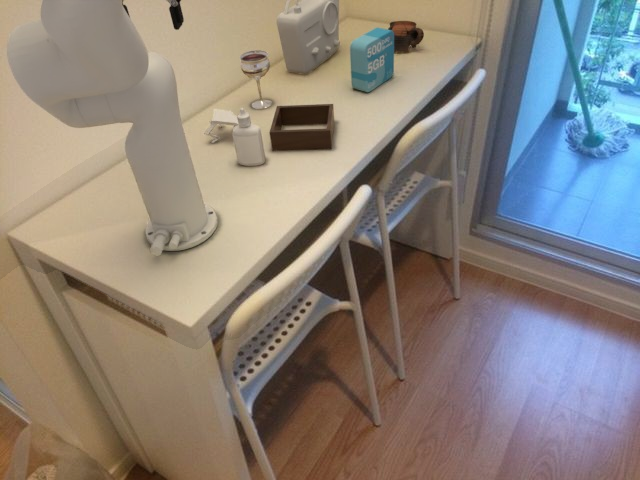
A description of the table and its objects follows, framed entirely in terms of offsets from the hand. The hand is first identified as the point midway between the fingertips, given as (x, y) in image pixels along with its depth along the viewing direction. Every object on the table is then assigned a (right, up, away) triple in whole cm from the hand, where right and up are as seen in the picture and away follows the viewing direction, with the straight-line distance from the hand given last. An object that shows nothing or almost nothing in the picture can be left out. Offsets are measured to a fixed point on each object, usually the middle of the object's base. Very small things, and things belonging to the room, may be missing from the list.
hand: (153, 28), depth 98 cm
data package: (+44, 0, +36) cm, 57 cm away
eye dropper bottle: (+17, -23, +12) cm, 31 cm away
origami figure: (+11, -16, +20) cm, 28 cm away
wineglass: (+16, -6, +32) cm, 36 cm away
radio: (+29, +10, +49) cm, 58 cm away
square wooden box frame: (+27, -16, +18) cm, 37 cm away
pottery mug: (+54, +15, +51) cm, 76 cm away
